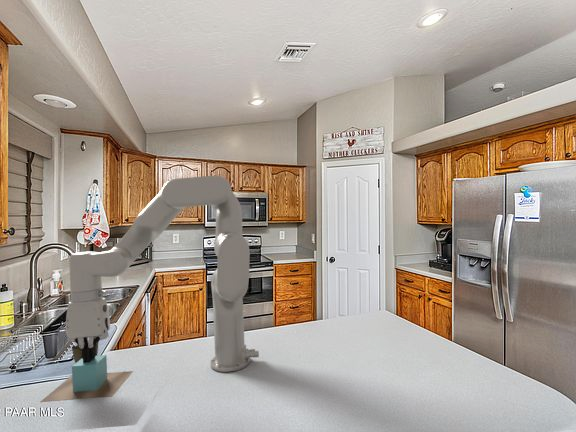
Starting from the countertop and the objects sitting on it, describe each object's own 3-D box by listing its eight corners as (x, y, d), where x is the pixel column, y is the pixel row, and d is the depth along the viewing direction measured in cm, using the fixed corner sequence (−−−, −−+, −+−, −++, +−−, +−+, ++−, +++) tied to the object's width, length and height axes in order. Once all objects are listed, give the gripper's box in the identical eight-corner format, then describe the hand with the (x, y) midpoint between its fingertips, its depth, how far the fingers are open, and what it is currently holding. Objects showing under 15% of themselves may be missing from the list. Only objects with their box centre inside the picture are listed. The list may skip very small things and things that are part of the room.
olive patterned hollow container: (86, 374, 102) (85, 348, 102) (66, 373, 104) (65, 347, 104) (104, 363, 110) (103, 339, 110) (85, 362, 111) (84, 338, 111)
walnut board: (133, 375, 100) (133, 371, 100) (112, 401, 86) (111, 396, 86) (71, 380, 99) (71, 375, 99) (40, 407, 85) (40, 401, 85)
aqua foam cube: (107, 378, 96) (106, 355, 96) (96, 390, 90) (95, 364, 90) (85, 380, 95) (84, 356, 95) (72, 392, 89) (71, 366, 89)
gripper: (119, 291, 97) (122, 353, 97) (66, 293, 96) (69, 356, 96) (107, 297, 89) (110, 364, 89) (50, 300, 88) (52, 368, 88)
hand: (89, 360), depth 92 cm, fingers closed
